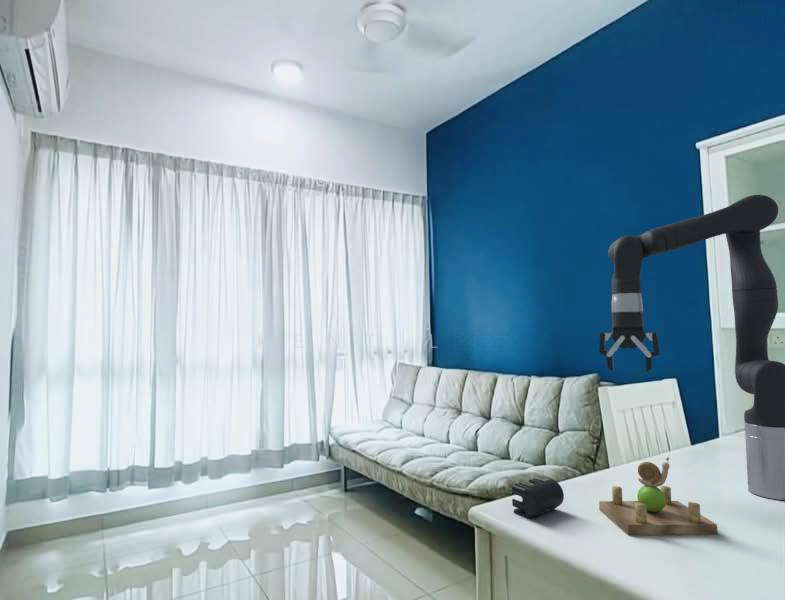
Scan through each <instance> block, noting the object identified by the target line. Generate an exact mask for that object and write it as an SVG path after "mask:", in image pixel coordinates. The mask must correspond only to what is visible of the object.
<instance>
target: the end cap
mask: <svg viewBox="0 0 785 600" xmlns="http://www.w3.org/2000/svg"><path fill="white" fill-rule="evenodd" d="M528 483H529V484H525V483H522V482H518V483H515V484H513V485H512V487H511V494H513V495H516V496H519V497H520V498H521V499H522V500H521V501H520V500H518V499H515V498H512V500H511V501H512V503H511V505H512V507H514V508H515V509H513V514H515V515H518V516H521V517H523V518H525V519H531V518H535V517H537V516H539V515H543V514H544V513H548V512H550V511H553V510H555V509H557V508H558V507H560V505H562V504H563V502H564V499H565V498H564V497H565V496H564V495H565V493H564V490H563V488H562V486H561V485H560V483H558V481H556V480H555V479H553V478H551V479H547V480H543V479H539V478H537V477H534V478H532V479H531V478H530V479H528Z"/></svg>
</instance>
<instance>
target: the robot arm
mask: <svg viewBox="0 0 785 600" xmlns="http://www.w3.org/2000/svg"><path fill="white" fill-rule="evenodd" d="M778 214H779V206H778V204H777V202H776V201H775V200H774V199H773V198H772V197H770V196H768V195H766V194H765V195H764V194H751V195H748V196H746V197H743V198H741V199H739V200H737V201H735V202H733V203H732V204H730V205H728V206H726V207H723V208H721V209H718V210H714V211H712V212H709V213H705V214H702V215H699V216H696V217H691V218H688V219H683V220H680V221H676V222H673V223H669V224H665V225H663V226H659V227H654V228H653V229H650V230H647V231H645V232H644V233H641V234H637V235H634V236H633V235H623V236H621V237H619V238H617V239H616V240H615V241H614V242H612V243H611V244H610V245H609V248H608V250H607V255H608V258H609V259H610V261H611V262H613V263H614V272H613V274H612V277H611V322H612V326H611V327H612V331H611V332H604V331H603V332H600V333H599V354H600V355H602V356H605V357H606V366H607V367H606V368H607V369H609V371H610V372H614V369H615V368H614V356H613V355H614V353H615V352H616V351H617V350H618V349H619V348H620V349H633V350H635V349H637V348H639V350H640V351H641V352H642V353H643V354H644V356H646V357H645V358H644V359H645V372H646V373H650V371H652V369H653V363H652V361H653V360H652V358H654V357H656V356H659V355H660V348H659V347H660V346H659V338H658V337H659V336H658V333H657V332H656V331H654V332H647V333H646V332H645V328H644V325H645V324H644V306H643V305H644V304H643V298H642V286H641V283H642V282H641V272H642V265H643V259H645V258H648V257H651V256H655V255H661V254H665V253H669V252H671V251H676V250H679V249H682V248H685V247H686V248H687V247H689V246H692V245H695V244H697V243H700V242H702V241H705V240H708V239H712V238H714V237H717V236H721V235H725V237H726V243H727V247H728V251H729V252H728V253H729V267H730V277H731V294H732V307H733V313H734V328H735V329H734V330H735V342H736V343H735V345H736V346H735V361H734V363H735V364H734V376H735V381H736V383H737V385H738V386H739V389H741V390H742V391H743V392H745V393H747V394H750V395H753V405H752V406H751V408H748V409H746V410H745V411H744V414H743V417H744V418H743V420H744V421H743V422H744V436H745V439H744V440H745V453H746V455H745V456H746V457H745V458H746V472H747V473H746V474H747V475H746V476H747V486H748V487H747V490H748V492H750V494H754V495H756V496H760V497H762V498H768V499H772V500H779V501H785V364H784V363H783V362H780V361H777V360H770V359H769V353H768V337H769V333H770V330H771V328H772V327H773V324H774V322H775V319H776V318H777V317H776V316H777V314H778V309H779V298H778V288H777V287H778V286H777V282H776V279H775V276H774V273H773V272H772V270H771V269H770V268H771V267H769V265H768V263H767V262H766V260H765V258H764V255H763V251H762V248H761V231H762V230H765V229H766V228H768V227H769V226H771V224H773V223H774V222H775V220H776V219H777V217H778ZM609 338H611V339H612V341H614V344H613V345H612V346H611V348H610V349H609V350H606V341H608V340H609ZM646 338H648V340H649V342H650V341H651V342H652V347H653V350H652V351H649V349H648V348H647V347H646V346H645V345H644V344H643V341H645V339H646Z"/></svg>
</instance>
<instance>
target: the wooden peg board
mask: <svg viewBox="0 0 785 600" xmlns="http://www.w3.org/2000/svg"><path fill="white" fill-rule="evenodd" d="M611 488H612V489H611V491H612V493H611V494H612V500H611V501H610V500H609V501H608V500H606V501H605V500H603V501H602V500H601V501H600V500H599V502H598V503H599V504H598V505H599V510H598V511H600V513H602V514H603V515H604V516H605V517H606V518H608V519H609V520H610V521H611V522H612V523H614V524H615V525H616V526H617V527H618V528H619V529H620V530H621V531H623V532H624V533H625V534H626V535H627V536H701V535H702V536H706V535H708V536H709V535H711V536H716V535H718V524H717V523H715V522H714V521H713V520H710V519H708V518H707V517H705V516H704V515H702V514H701V505H700V504H699V503H697V502H695V501H690V502H688V503H687V504H688V505H685V504H684V503H682V502H680V501H679V500H672V492H671V490H672V487H670V486H667V485H661V486H659V489H660V490H661V491H662V492H663V493H664V495H665V498H666V505H665V507H664V508H663V509H662V510H661V511H659V512H650V511H647V510H646V504H644V503H639V501H638V500H623V488H622V487H621V486H617V485H616V486H612V487H611Z"/></svg>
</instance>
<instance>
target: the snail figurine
mask: <svg viewBox="0 0 785 600" xmlns="http://www.w3.org/2000/svg"><path fill="white" fill-rule="evenodd" d="M665 460H666V461H667V462H662V464H661V467H662V469H661V470H660V468H659V466H658V465H656V464H654V463H653V462H650V461H643V462H641V463H640V464H639V465H638V467H637V474H638V475H639V478H637V480H638V481H639V482H640V484H641V485H643V486H641V487H640V488H639V489H638V491H637V495H636V497H637V501H639V503H644V504H646V510H647V511H650V512H659V511H661V510H662V509H663V508H664V507H665V505H666V498H665V495H664V493H663V492H662V491H661V488H660V487H661V486H664V484H665V482H666V481H667V479H668V474H669V469H670V463H669V460H670V457H668V456H667V457H666V458H665Z"/></svg>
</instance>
